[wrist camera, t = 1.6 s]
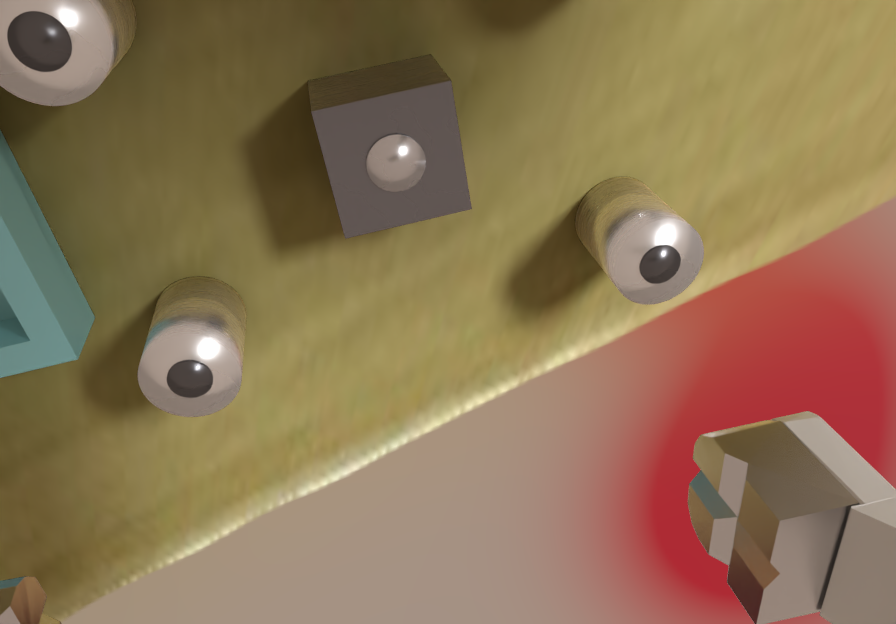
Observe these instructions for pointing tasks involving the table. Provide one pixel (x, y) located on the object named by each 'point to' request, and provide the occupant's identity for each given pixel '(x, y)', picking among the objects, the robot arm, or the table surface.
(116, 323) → the table surface
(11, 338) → the tray
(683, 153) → the table surface
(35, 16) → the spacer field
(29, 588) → the robot arm
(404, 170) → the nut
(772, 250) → the table surface
